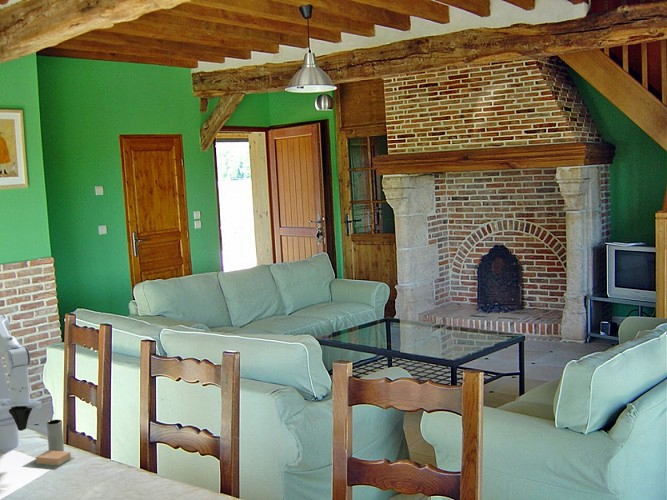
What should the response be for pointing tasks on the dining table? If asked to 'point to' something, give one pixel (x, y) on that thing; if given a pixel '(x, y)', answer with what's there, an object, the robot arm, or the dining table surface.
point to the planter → (55, 435)
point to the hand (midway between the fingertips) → (22, 429)
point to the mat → (35, 465)
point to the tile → (53, 458)
